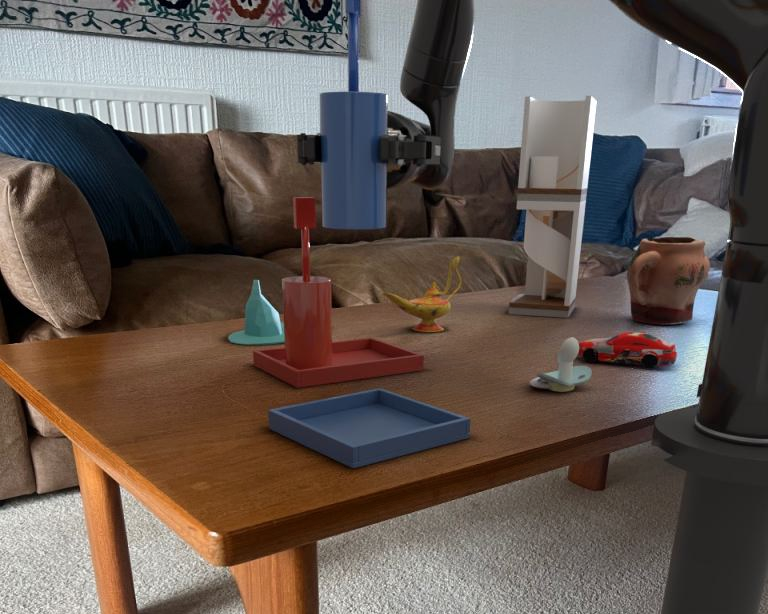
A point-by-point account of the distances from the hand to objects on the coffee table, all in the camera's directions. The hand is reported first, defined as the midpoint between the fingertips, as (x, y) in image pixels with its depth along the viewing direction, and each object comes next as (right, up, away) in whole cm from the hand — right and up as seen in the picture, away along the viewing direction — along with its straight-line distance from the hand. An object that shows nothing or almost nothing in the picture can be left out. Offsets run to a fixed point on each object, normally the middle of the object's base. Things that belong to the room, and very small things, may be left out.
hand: (347, 148), depth 68 cm
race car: (+36, -11, +39) cm, 54 cm away
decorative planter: (+51, +1, +67) cm, 84 cm away
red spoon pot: (-7, -13, +32) cm, 35 cm away
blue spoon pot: (0, -5, +5) cm, 7 cm away
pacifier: (+24, -17, +26) cm, 39 cm away
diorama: (-13, -4, +55) cm, 57 cm away
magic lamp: (+9, -2, +58) cm, 59 cm away
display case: (+33, +5, +77) cm, 84 cm away
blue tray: (+2, -24, +9) cm, 26 cm away
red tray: (-3, -13, +34) cm, 37 cm away
